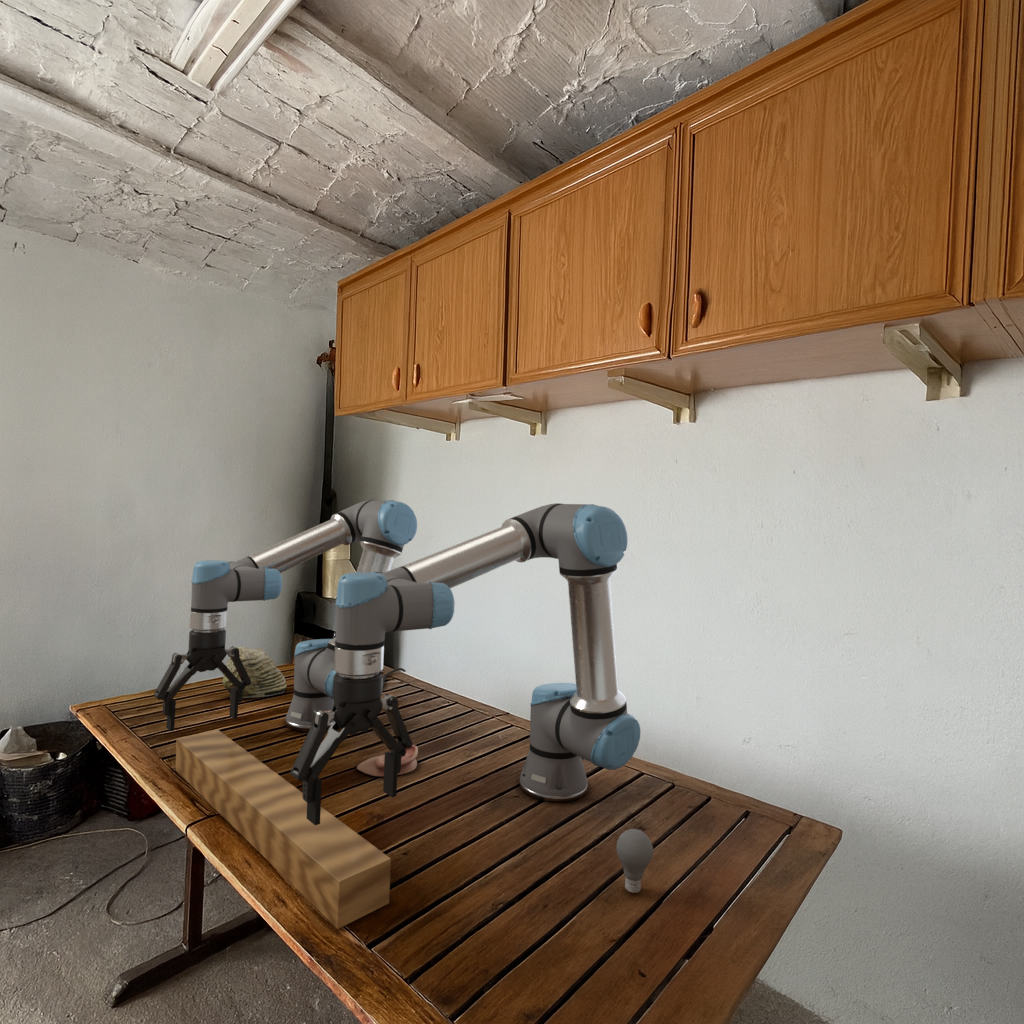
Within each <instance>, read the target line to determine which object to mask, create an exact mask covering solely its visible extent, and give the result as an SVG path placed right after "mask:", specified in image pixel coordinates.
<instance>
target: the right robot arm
mask: <svg viewBox="0 0 1024 1024" xmlns="http://www.w3.org/2000/svg"><path fill="white" fill-rule="evenodd" d="M628 541H629V540H628V532H627V527H626V525H625V523H624V521H623V519H622V517H621V516H620V515H619V514H618V513H616V512H615V510H614V509H612V508H610V507H607V506H603V505H602V506H601V505H597V504H594V503H591V504H589V503H585V504H584V503H577V504H576V503H549V504H545V505H541V506H539V507H536V508H533V509H531V510H528V511H526V512H523V513H520V514H518V515H515V516H513V517H510V518H508V519H506V520H503V522H502V524H501V527H498V528H496V529H495V528H494V529H493V530H490V531H487V532H486V533H482V534H480V535H478V536H475V537H473V538H470V539H467V540H465V541H462V542H460V543H458V544H454V545H452V546H450V547H447V548H444V549H442V550H438V551H437V552H434V553H432V554H429V555H426V556H424V557H422V558H419V559H416V560H413V561H411V562H409V563H407V564H404V565H401V566H398V567H395V568H393V569H391V570H390V571H387V572H385V573H383V572H370V573H368V572H367V573H363V572H357V571H356V572H348V573H345V574H343V575H341V576H340V578H339V579H338V581H337V582H338V583H337V589H336V599H335V637H336V641H335V656H334V671H335V672H336V674H335V675H334V682H333V698H334V705H333V708H332V710H328V711H321V710H320V709H316V710H315V711H314V713H313V720H312V725H311V727H310V730H309V732H307V734H306V736H305V738H304V741H303V743H302V745H301V748H300V750H299V752H298V754H297V756H296V758H295V761H294V762H293V765H292V767H291V769H290V771H289V772H290V773H289V774H290V776H292V777H293V778H294V779H296V780H297V781H298V782H302V793H303V795H302V797H303V800H304V801H306V802H307V819H308V820H309V821H310V822H311V823H313V824H314V825H315V826H316V825H318V824H320V812H321V807H322V787H323V786H322V785H323V780H322V779H320V778H319V776H320V774H321V773H322V771H323V770H324V769H325V768H326V766H327V764H328V763H329V761H330V759H332V757H333V755H334V754H335V752H337V751H336V750H337V749H338V748H339V746H340V745H341V743H342V742H344V741H346V739H347V737H348V736H356V734H357V735H358V733H365V732H369V730H370V729H371V730H372V731H373V733H374V734H375V735H376V736H377V737H378V738H379V740H380V741H381V742H382V743H383V744H384V745H385V746H386V748H387V749H388V750H389V751H385V752H384V754H385V760H384V776H383V786H382V787H383V788H382V790H383V791H382V792H383V793H384V794H386V795H388V796H389V797H391V798H396V797H397V793H398V775H397V774H398V773H400V771H401V757H403V756H405V754H406V750H405V749H407V748H408V749H409V748H411V747H412V745H413V740H412V738H411V735H410V734H409V731H408V729H407V726H406V724H405V722H404V719H403V717H402V714H401V712H400V710H399V699H398V697H397V696H395V695H392V694H389V693H384V695H383V690H384V688H383V687H384V685H383V677H384V674H383V673H382V671H383V669H384V655H385V638H386V633H395V632H404V631H416V630H432V629H435V628H440V627H446V626H447V625H448V624H449V623H450V622H451V621H452V620H453V618H454V614H455V603H456V602H455V595H454V594H453V591H452V588H455V587H458V586H460V585H462V584H464V583H467V582H469V581H471V580H473V579H476V578H478V577H480V576H483V575H485V574H487V573H490V572H492V571H494V570H497V569H499V568H501V567H504V566H506V565H509V564H511V563H513V562H517V563H525V562H527V561H529V560H533V559H539V558H549V559H556V560H558V568H559V575H560V576H561V577H562V578H563V579H565V580H566V581H567V589H568V590H567V591H568V603H569V614H570V615H569V616H570V627H571V629H570V630H571V639H572V652H573V653H572V654H573V664H574V665H573V666H574V676H575V677H574V678H575V683H573V682H551V683H549V682H548V683H544V684H540V685H538V686H536V687H535V688H534V689H533V690H532V693H531V702H530V717H529V718H530V720H529V747H528V748H529V749H528V753H527V756H526V759H525V761H524V764H523V766H522V768H521V771H520V775H519V776H520V777H519V787H520V790H522V791H523V792H524V794H526V795H528V796H530V797H532V798H533V799H537V800H539V801H544V802H550V803H551V802H552V803H567V802H572V801H576V800H578V799H581V798H583V797H584V796H585V795H586V794H587V792H588V777H587V774H586V770H585V766H584V762H583V759H584V760H585V761H588V762H589V763H591V764H593V765H594V766H596V767H600V768H603V769H605V770H609V771H615V770H619V769H620V768H622V767H624V766H625V765H627V764H628V762H630V760H631V759H632V758H633V756H634V754H635V752H636V751H637V749H638V746H639V744H640V741H641V725H640V723H639V720H638V719H636V718H635V716H634V715H632V714H630V713H628V706H627V697H626V695H625V694H624V693H623V692H622V691H620V690H619V684H618V683H619V682H618V669H617V667H618V666H617V656H616V655H617V654H616V641H615V628H614V613H613V612H614V611H613V600H612V583H611V578H612V577H613V575H615V573H616V572H617V571H618V563H620V562H621V561H622V559H623V558H624V556H625V552H626V551H627V549H628ZM382 696H383V697H382ZM382 710H384V712H385V715H386V718H387V720H388V722H389V725H390V727H391V729H392V732H393V734H394V736H395V737H394V736H393V735H392V734H391V732H390V731H389V730H388V729H387V728H386V727H385V724H384V722H382V720H381V719H380V718H379V715H380V713H381V711H382ZM332 719H333V720H334V722H333V724H332V725H331V727H330V728H329V730H327V726H329V725H330V721H331V720H332ZM339 730H340V731H339ZM326 733H327V734H326ZM325 735H326V736H325ZM390 752H391V753H390Z"/></svg>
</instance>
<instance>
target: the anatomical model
mask: <svg viewBox="0 0 1024 1024" xmlns="http://www.w3.org/2000/svg"><path fill="white" fill-rule="evenodd" d="M405 750H406V754H405V756H403V757H401V771H400V773H398V774H397V776H399V775H404V774H408V773H411V772H413V771H414V770H415V769H416V768H417V766H418V760H417V757H418V755H419V748H418V746H417V745H413V744H412V747H411V748H409V749H408V748H407V749H405ZM389 752H390V753H391V751H389ZM384 760H385V753H383V754H381V755H377V756H372V757H370V758H368V759H365V760H364V761H361V762H360V763H359V764H358V765H357V766H356V769H357V771H360V772H362V773H363V774H366V775H369V776H372V777H384Z"/></svg>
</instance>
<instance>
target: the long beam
mask: <svg viewBox="0 0 1024 1024" xmlns="http://www.w3.org/2000/svg"><path fill="white" fill-rule="evenodd" d="M175 743H176V745H175V771H176V772H177V773H178V774H179V775H180V777H182V778H183V779H184V780H185V781H186V782H187V783H188V784H189V785H190V786H191V787H192V788H193V789H194V790H195V791H196V792H197V793H198V794H199V795H200V796H201V797H202V798H203V799H204V800H205V801H207V803H209V804H210V806H211V807H213V809H215V810H216V812H218V814H219V815H221V817H223V819H225V820H226V821H227V822H228V824H230V825H231V826H232V828H234V829H235V830H236V831H237V832H238V833H239V834H240V835H241V836H242V837H243V838H244V839H245V840H246V841H247V842H248V843H249V844H250V845H251V846H252V847H253V848H254V849H255V850H256V851H257V852H258V853H259V854H261V856H262V857H263V858H264V859H266V861H267V862H269V864H270V865H271V866H272V867H273V868H274V869H276V870H277V871H278V873H279V874H280V875H282V876H283V877H284V878H285V879H286V881H288V882H289V883H290V885H292V886H293V887H294V888H295V889H296V890H297V891H298V892H299V893H300V894H301V895H302V896H303V897H304V898H305V899H306V900H307V901H308V902H309V903H310V904H311V905H312V906H313V907H314V908H316V910H317V911H318V912H319V913H320V914H321V915H322V916H323V917H324V918H325V919H327V920H328V921H329V922H330V924H332V925H333V926H334V927H335V928H336V929H337V930H339V929H341V928H344V927H345V926H347V925H350V924H351V923H353V922H355V921H357V920H359V919H361V918H362V917H364V916H367V915H368V914H371V913H373V912H375V911H376V910H377V911H378V910H379V909H381V908H383V907H384V906H386V905H388V904H390V893H391V892H390V891H391V889H390V888H391V870H392V869H391V867H392V866H391V865H392V858H391V857H389V856H388V854H387V855H386V853H384V852H383V851H381V850H380V849H379V848H377V847H376V846H375V845H373V844H372V843H370V842H369V841H368V840H367V839H365V838H364V837H362V836H361V835H360V834H359V833H357V832H356V831H354V829H352V828H351V827H349V826H348V825H346V824H345V823H344V822H343V821H342V820H340V819H338V818H337V817H336V816H334V815H333V814H332V813H330V812H329V811H328V810H327V809H326V808H324V807H322V806H321V812H320V824H318V825H316V826H315V825H314V824H313V823H311V822H310V821H309V820H308V819H307V802H306V801H304V800H303V797H302V795H303V791H301V790H300V789H298V788H297V787H296V786H294V785H293V784H291V782H289V781H288V780H286V779H285V778H283V777H282V776H281V775H279V774H278V773H277V772H276V771H274V770H273V769H271V767H269V766H267V765H266V764H265V763H264V762H262V761H261V760H259V759H258V758H256V756H254V755H253V754H251V753H250V752H248V751H247V750H246V749H244V748H243V747H242V746H240V745H239V744H238V743H237V742H235V741H233V740H232V739H231V738H230V737H228V736H227V735H226V734H224V733H223V732H222V731H221V730H219V729H214V730H210V731H206V732H202V733H197V734H192V735H188V736H183V737H179V738H176V741H175Z"/></svg>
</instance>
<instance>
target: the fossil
mask: <svg viewBox="0 0 1024 1024" xmlns="http://www.w3.org/2000/svg"><path fill="white" fill-rule="evenodd" d="M237 648H238V649H239V654H240V659H241V661H242V663H243V665H244V667H245V669H246V672H247V674H248V676H249V678H250V680H251V682H252V683H251V685H249V686H248V685H247V686H246V687H245V689H244V690H243V693H242V699H250V698H264V697H271V696H275V695H281V694H284V693H285V691H286V689H287V687H288V686H287V680H286V678H285V676H284V674H283V673H282V672H281V669H279V668H278V667H277V665H276V663H275V662H274V660H273V659H272V658H271V657H270V656H269V655H268V654H267V653H266V652H265V650H264V649H263V648H260V647H258V648H251V647H247V646H246V647H245V646H238V647H237ZM225 665H226V666H227V668H228V669H229V670H230V671H231V672H232V673H233V674H234V676H235V677H236V678H237V679H238V680H239V681H242V680H241V678H240V676H239V674H238V672H237V670H236V668H235V666H234V664H233V662H232V660H231V658H230V657H229V659H228V660H227V663H226V664H225ZM222 676H223V677H222V685H223V687H224V688H225V690H226V691H228V693H229V698H231V688H235V686H234V685H233V684H232V683H231V682H230V681H229V680H228V679H227V677H226V676H225V675H224V674H222Z"/></svg>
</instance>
